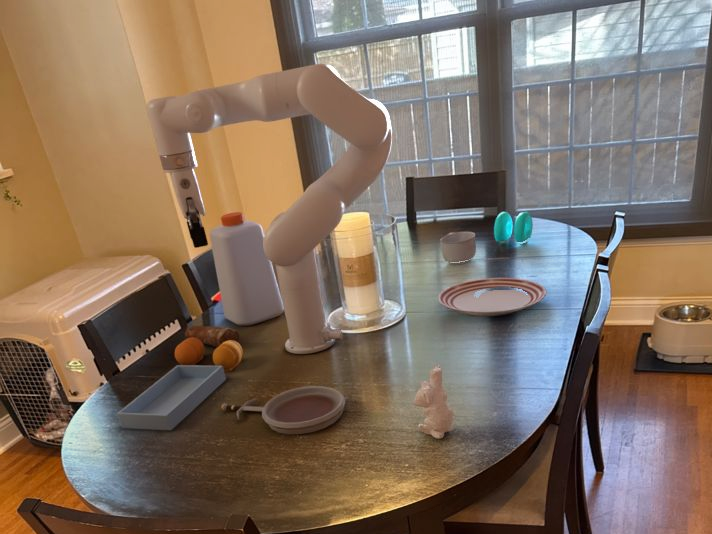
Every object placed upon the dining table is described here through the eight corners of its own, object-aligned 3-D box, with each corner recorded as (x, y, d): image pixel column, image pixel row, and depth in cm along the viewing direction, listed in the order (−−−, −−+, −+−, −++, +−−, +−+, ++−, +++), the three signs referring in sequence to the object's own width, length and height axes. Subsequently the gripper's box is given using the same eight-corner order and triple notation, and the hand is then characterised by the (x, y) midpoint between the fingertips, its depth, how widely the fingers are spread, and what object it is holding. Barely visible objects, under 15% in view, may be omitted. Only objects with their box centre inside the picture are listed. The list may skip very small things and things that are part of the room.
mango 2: (249, 358, 165) (243, 336, 162) (232, 373, 158) (226, 351, 155) (228, 358, 167) (223, 336, 164) (211, 373, 160) (205, 351, 157)
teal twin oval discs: (522, 248, 213) (522, 216, 207) (493, 248, 218) (492, 216, 212) (533, 240, 219) (534, 208, 214) (505, 239, 224) (504, 208, 219)
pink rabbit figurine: (428, 420, 126) (423, 361, 120) (462, 423, 123) (459, 363, 117) (412, 442, 120) (405, 382, 114) (447, 446, 117) (443, 384, 111)
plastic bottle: (266, 303, 201) (245, 205, 186) (290, 313, 190) (269, 210, 175) (220, 318, 195) (195, 218, 180) (242, 329, 184) (216, 224, 169)
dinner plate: (512, 280, 188) (512, 268, 186) (567, 306, 165) (568, 293, 163) (422, 302, 182) (421, 290, 181) (467, 333, 160) (466, 319, 158)
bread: (225, 354, 170) (219, 333, 167) (183, 342, 182) (177, 322, 179) (244, 345, 173) (239, 324, 170) (202, 334, 185) (196, 314, 182)
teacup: (478, 264, 205) (477, 237, 201) (443, 269, 206) (441, 242, 201) (472, 252, 217) (471, 227, 212) (439, 257, 217) (437, 231, 213)
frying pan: (239, 383, 147) (356, 384, 137) (242, 395, 149) (358, 397, 138) (198, 420, 134) (324, 425, 124) (202, 433, 136) (327, 438, 125)
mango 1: (211, 355, 171) (205, 333, 168) (193, 369, 164) (187, 347, 161) (191, 355, 173) (185, 333, 170) (173, 369, 166) (167, 347, 163)
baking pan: (226, 379, 156) (222, 365, 154) (171, 430, 137) (166, 415, 136) (181, 378, 160) (177, 365, 158) (121, 428, 142) (116, 413, 140)
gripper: (199, 162, 139) (219, 246, 148) (193, 155, 154) (211, 232, 163) (163, 169, 138) (185, 253, 147) (160, 161, 152) (181, 238, 162)
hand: (199, 242), depth 155 cm, fingers open, 9 cm apart
